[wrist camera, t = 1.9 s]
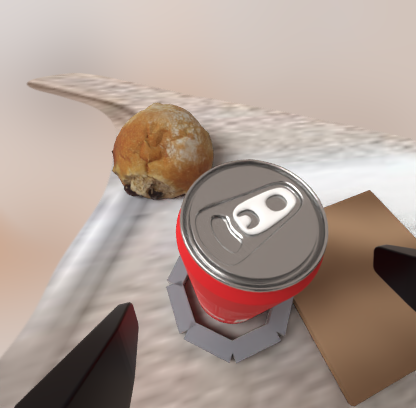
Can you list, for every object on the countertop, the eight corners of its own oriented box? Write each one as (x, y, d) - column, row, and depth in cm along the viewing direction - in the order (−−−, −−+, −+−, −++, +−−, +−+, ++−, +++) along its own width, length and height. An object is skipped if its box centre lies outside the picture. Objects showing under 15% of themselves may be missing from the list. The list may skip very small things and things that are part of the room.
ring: (312, 323, 16) (317, 322, 15) (194, 381, 14) (193, 384, 14) (253, 220, 20) (255, 215, 19) (159, 256, 19) (156, 252, 18)
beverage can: (184, 275, 18) (146, 192, 8) (237, 244, 19) (265, 136, 9) (219, 340, 16) (231, 345, 5) (276, 299, 17) (375, 238, 7)
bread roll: (219, 195, 26) (247, 134, 21) (143, 227, 19) (157, 148, 14) (170, 150, 30) (183, 90, 25) (92, 164, 23) (89, 84, 18)
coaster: (486, 322, 16) (495, 322, 15) (348, 403, 14) (354, 406, 13) (365, 193, 22) (369, 189, 21) (256, 236, 20) (257, 233, 19)
